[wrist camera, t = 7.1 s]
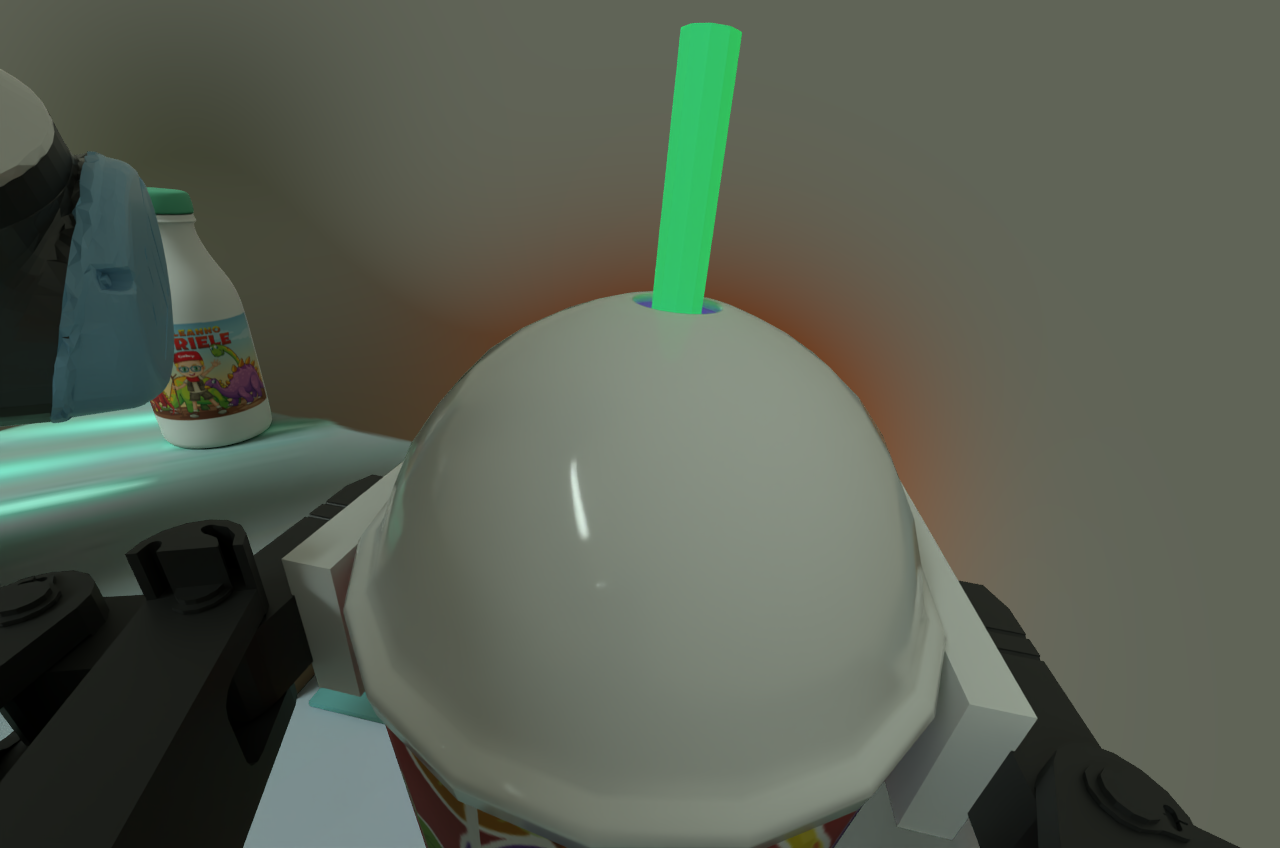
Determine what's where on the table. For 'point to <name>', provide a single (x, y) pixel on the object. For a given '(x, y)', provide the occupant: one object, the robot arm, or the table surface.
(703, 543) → the smoothie
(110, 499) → the table surface
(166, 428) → the milk bottle
